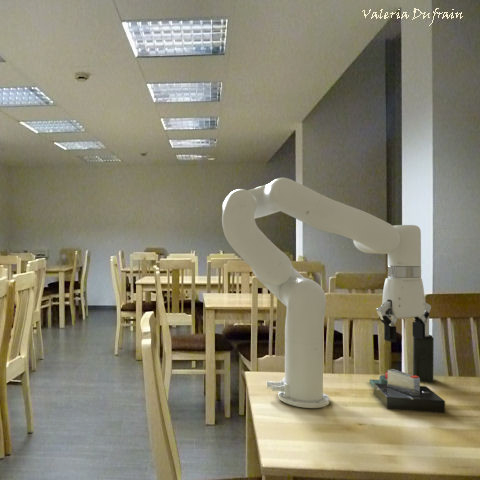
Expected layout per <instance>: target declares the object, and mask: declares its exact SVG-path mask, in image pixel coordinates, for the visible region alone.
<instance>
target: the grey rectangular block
mask: <svg viewBox="0 0 480 480" xmlns="http://www.w3.org/2000/svg"><path fill="white" fill-rule="evenodd" d="M387 372H388V383H387V386H388V387H390V388H393V389H395V390H398V391H401V392H403V393H406V394H409V395H411V396H420V386H421V381H420V378H419V376H416V375H415V376H413V374H410V373H407V372H404V371H400V370H398V369H395V368H390V369H389V368H388V369H387Z"/></svg>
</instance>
